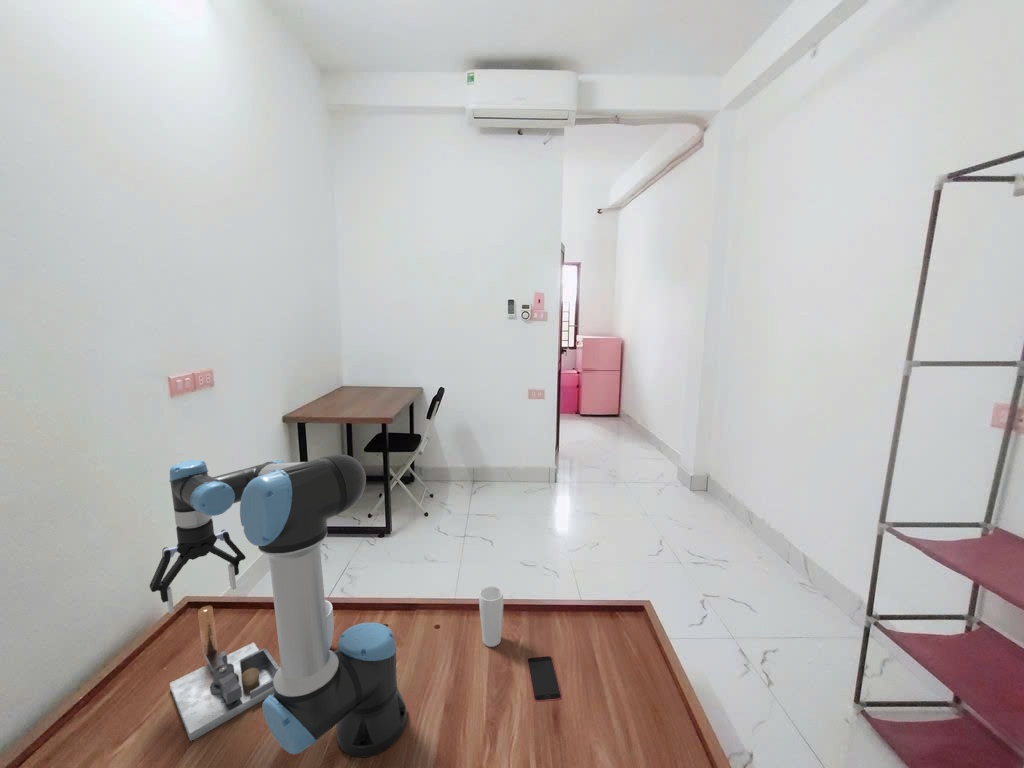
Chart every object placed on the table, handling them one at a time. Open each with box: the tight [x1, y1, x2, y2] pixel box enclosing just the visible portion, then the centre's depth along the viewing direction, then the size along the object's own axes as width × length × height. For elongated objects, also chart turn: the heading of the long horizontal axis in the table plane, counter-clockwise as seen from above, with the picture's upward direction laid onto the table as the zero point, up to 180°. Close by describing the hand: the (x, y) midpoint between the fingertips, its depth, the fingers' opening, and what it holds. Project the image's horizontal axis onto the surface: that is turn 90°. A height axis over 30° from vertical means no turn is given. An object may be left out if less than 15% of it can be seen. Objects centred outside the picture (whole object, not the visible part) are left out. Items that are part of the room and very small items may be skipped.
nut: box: [241, 668, 260, 691], centre depth 110 cm, size 4×4×3 cm
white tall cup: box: [478, 585, 504, 648], centre depth 127 cm, size 7×7×15 cm
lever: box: [197, 605, 242, 705], centre depth 111 cm, size 22×4×14 cm, turn 47°
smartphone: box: [526, 655, 563, 702], centre depth 115 cm, size 7×1×14 cm
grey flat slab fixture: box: [169, 642, 281, 742], centre depth 111 cm, size 20×19×6 cm
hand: (203, 598), depth 116 cm, fingers open, 13 cm apart
